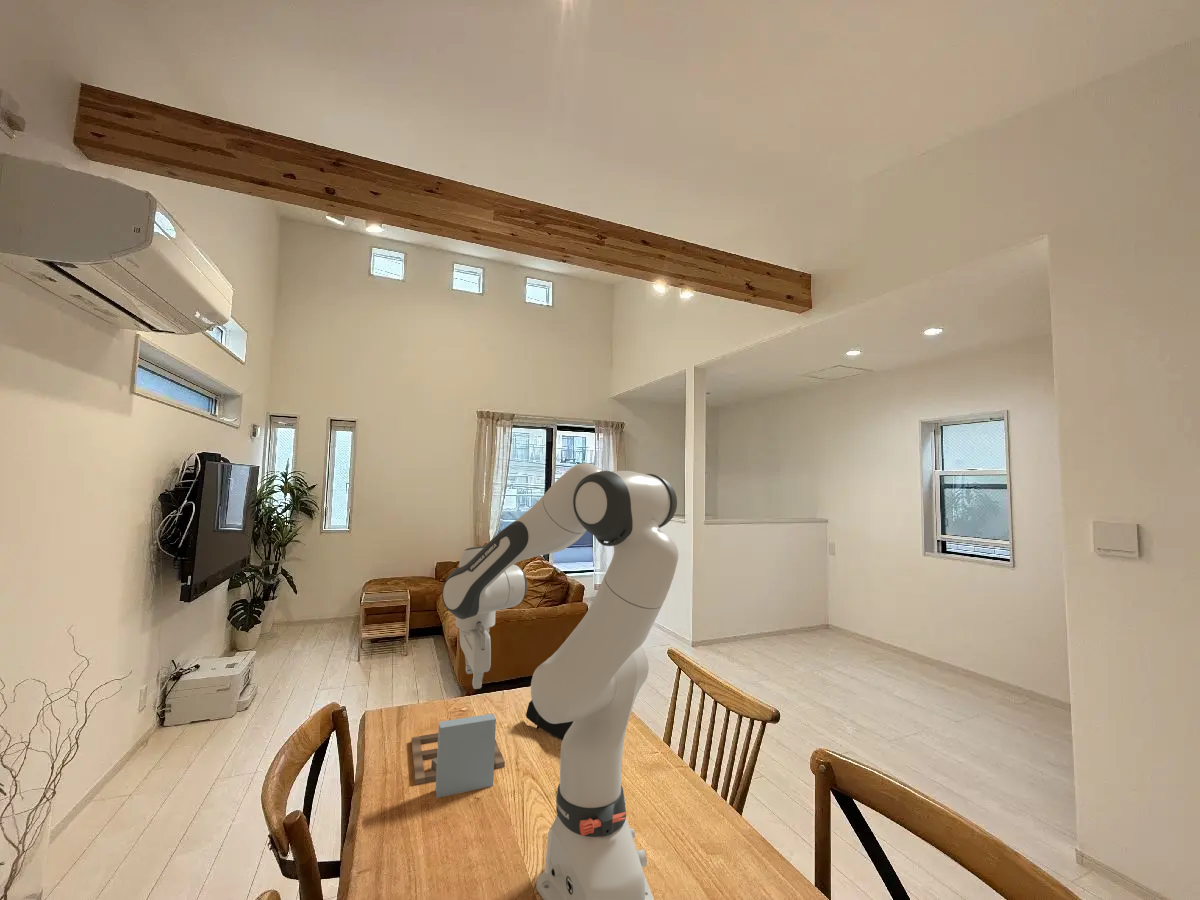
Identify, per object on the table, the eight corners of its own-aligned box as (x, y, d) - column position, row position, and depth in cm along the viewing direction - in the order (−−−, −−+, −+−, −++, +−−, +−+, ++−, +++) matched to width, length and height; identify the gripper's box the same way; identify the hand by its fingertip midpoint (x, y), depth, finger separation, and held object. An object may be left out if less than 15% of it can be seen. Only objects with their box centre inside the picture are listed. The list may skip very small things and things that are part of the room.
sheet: (493, 789, 108) (495, 719, 110) (436, 801, 104) (440, 728, 105) (490, 781, 111) (493, 713, 112) (435, 793, 106) (438, 721, 108)
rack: (504, 772, 116) (504, 761, 116) (414, 791, 108) (415, 779, 108) (488, 734, 134) (489, 724, 134) (411, 747, 126) (411, 737, 126)
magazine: (629, 722, 124) (545, 662, 141) (623, 727, 121) (538, 665, 138) (612, 783, 125) (530, 716, 142) (605, 789, 122) (523, 720, 140)
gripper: (499, 627, 103) (496, 695, 102) (481, 606, 122) (479, 664, 121) (468, 630, 101) (466, 699, 100) (455, 608, 119) (453, 667, 118)
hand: (473, 680), depth 110 cm, fingers open, 8 cm apart
